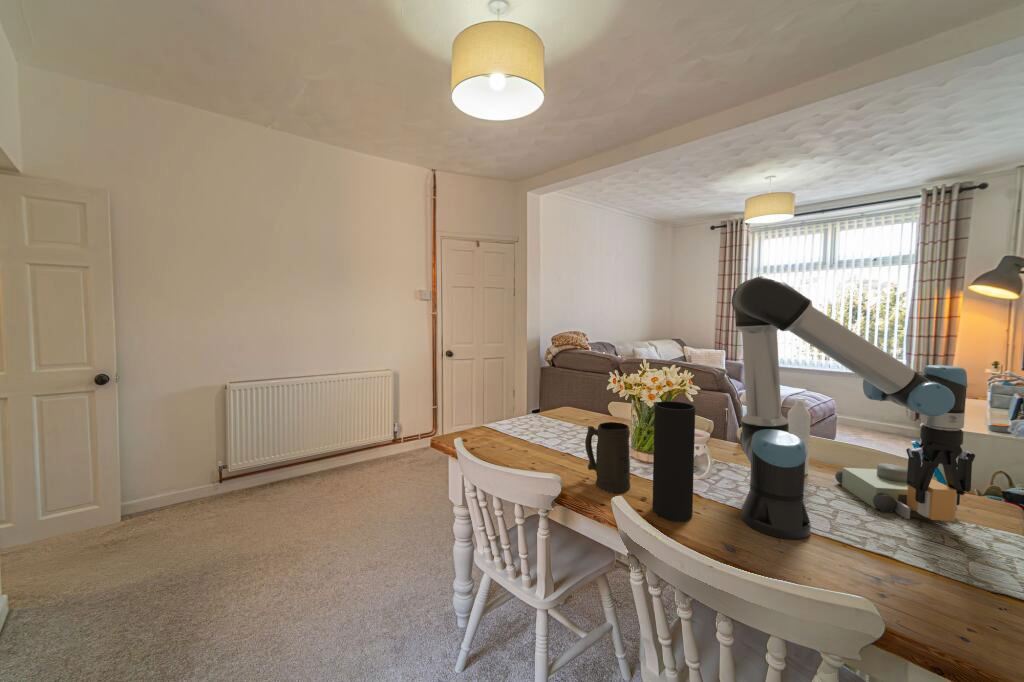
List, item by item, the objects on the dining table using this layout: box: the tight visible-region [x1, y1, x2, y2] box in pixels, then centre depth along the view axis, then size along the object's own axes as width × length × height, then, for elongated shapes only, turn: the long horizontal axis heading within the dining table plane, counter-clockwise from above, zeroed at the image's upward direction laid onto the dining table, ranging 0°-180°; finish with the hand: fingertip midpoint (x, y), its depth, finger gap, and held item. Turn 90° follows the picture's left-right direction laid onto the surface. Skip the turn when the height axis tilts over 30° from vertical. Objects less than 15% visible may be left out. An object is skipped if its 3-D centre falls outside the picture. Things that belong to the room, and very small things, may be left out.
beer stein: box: [584, 421, 631, 494], centre depth 131 cm, size 15×11×20 cm
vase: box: [651, 400, 696, 523], centre depth 112 cm, size 10×10×30 cm
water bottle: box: [787, 396, 812, 476], centre depth 141 cm, size 9×6×25 cm
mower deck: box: [834, 462, 958, 522], centre depth 119 cm, size 19×22×9 cm
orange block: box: [907, 478, 957, 522], centre depth 107 cm, size 5×8×8 cm, turn 171°
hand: (936, 515), depth 105 cm, fingers closed on orange block, 5 cm apart
